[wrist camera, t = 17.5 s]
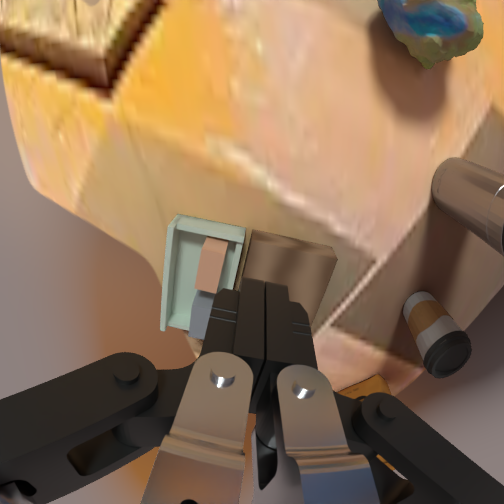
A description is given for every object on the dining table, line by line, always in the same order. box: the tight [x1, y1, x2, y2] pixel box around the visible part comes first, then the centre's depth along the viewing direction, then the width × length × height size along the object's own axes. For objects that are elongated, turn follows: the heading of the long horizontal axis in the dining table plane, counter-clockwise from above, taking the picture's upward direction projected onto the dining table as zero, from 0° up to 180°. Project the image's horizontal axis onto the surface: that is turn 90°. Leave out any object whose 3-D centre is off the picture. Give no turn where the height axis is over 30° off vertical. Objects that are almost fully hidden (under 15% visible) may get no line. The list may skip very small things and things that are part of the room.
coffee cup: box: [403, 291, 472, 378], centre depth 42 cm, size 8×8×15 cm
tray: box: [160, 214, 246, 331], centre depth 45 cm, size 10×18×5 cm, turn 168°
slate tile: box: [188, 288, 218, 340], centre depth 45 cm, size 6×6×3 cm
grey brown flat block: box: [238, 230, 338, 327], centre depth 46 cm, size 12×18×4 cm, turn 168°
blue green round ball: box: [377, 0, 484, 69], centre depth 23 cm, size 14×16×15 cm
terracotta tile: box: [194, 235, 229, 294], centre depth 41 cm, size 6×6×3 cm
